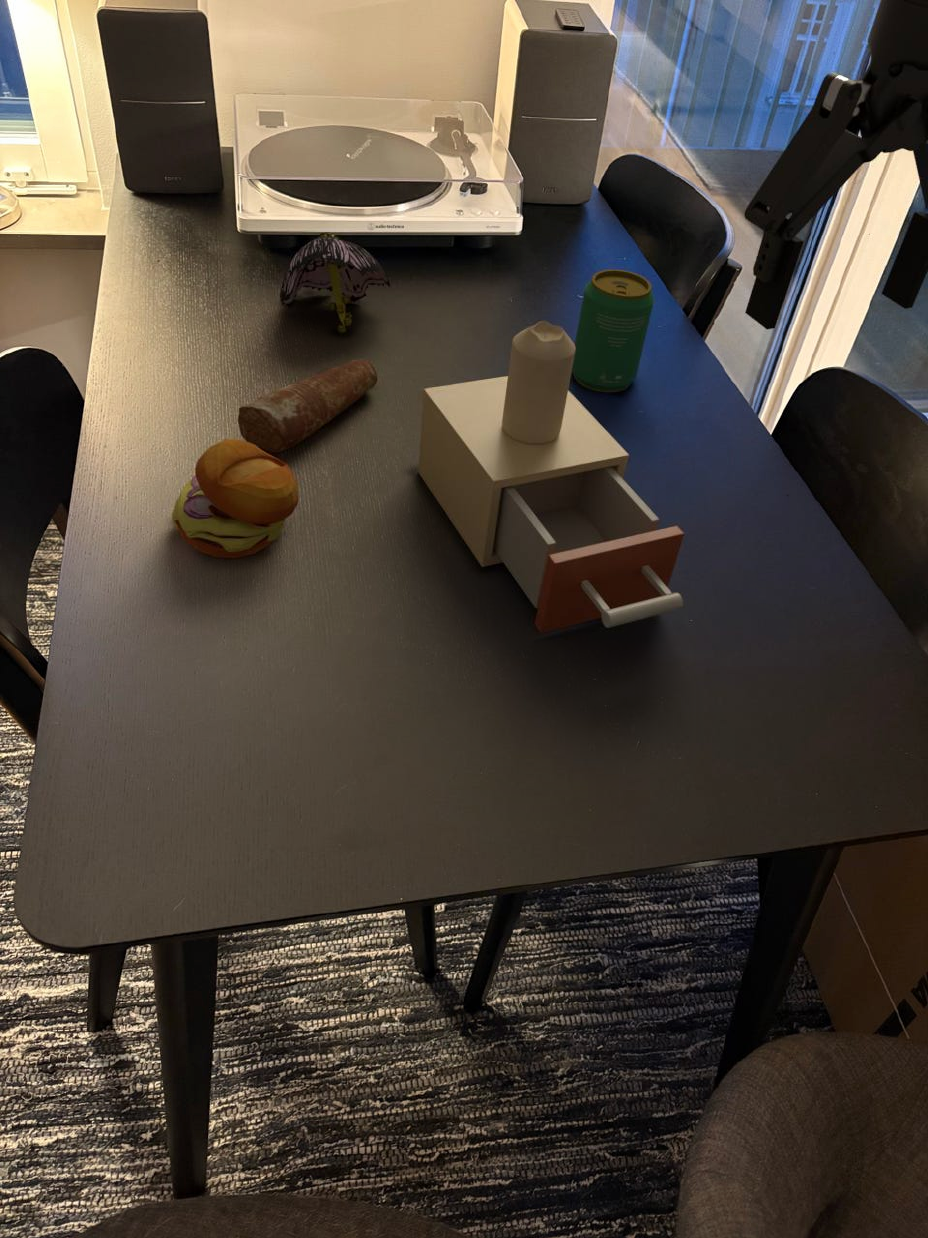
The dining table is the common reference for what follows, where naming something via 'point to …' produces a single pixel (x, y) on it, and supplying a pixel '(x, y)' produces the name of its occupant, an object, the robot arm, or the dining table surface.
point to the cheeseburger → (235, 500)
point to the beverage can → (612, 330)
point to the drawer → (586, 550)
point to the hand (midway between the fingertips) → (830, 310)
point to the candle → (538, 383)
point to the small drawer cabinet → (498, 455)
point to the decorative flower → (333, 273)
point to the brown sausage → (304, 406)
